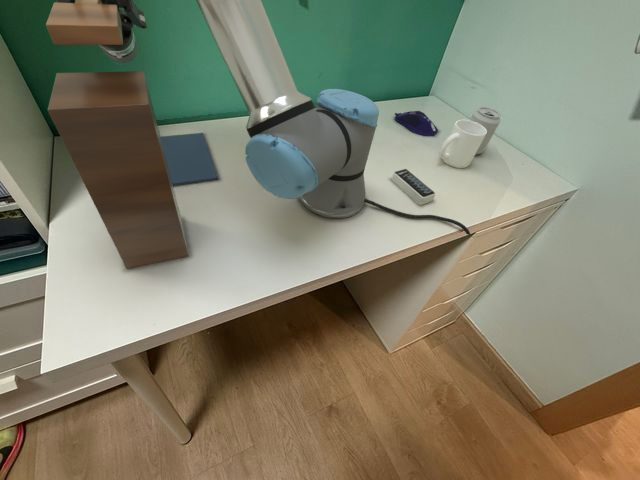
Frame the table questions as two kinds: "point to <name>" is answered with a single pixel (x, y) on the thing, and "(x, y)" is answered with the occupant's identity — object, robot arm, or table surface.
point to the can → (486, 124)
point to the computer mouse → (417, 122)
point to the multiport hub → (413, 186)
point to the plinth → (121, 161)
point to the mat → (188, 158)
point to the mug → (462, 143)
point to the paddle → (85, 23)
